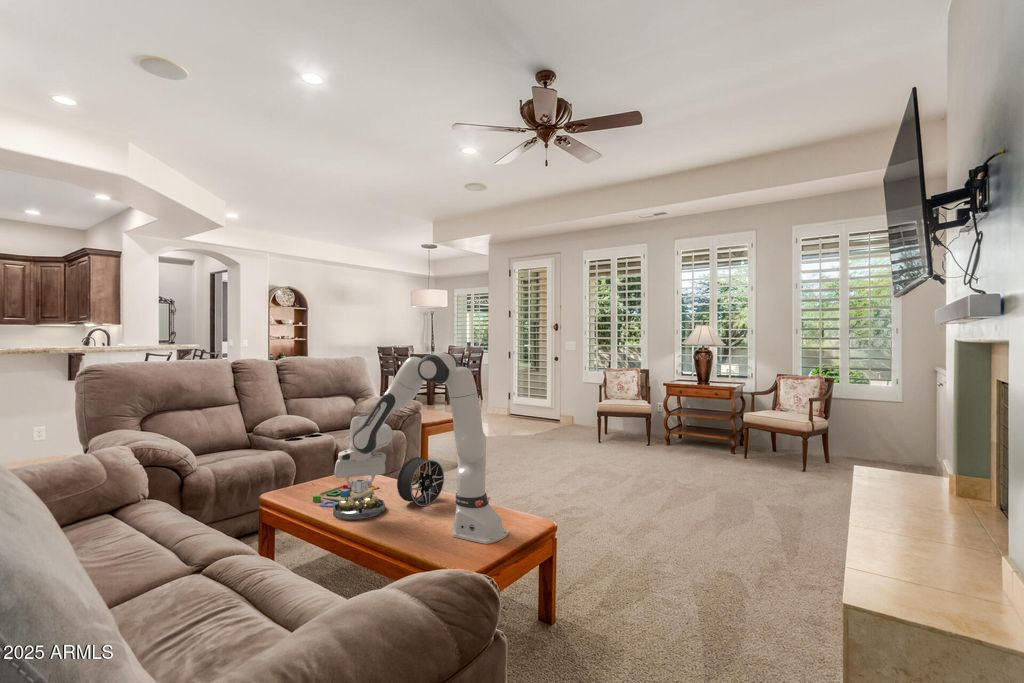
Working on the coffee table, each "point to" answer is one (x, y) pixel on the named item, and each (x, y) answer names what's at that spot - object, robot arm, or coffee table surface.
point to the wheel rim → (420, 481)
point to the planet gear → (359, 485)
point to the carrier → (358, 508)
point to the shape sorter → (341, 494)
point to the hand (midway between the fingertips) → (359, 486)
